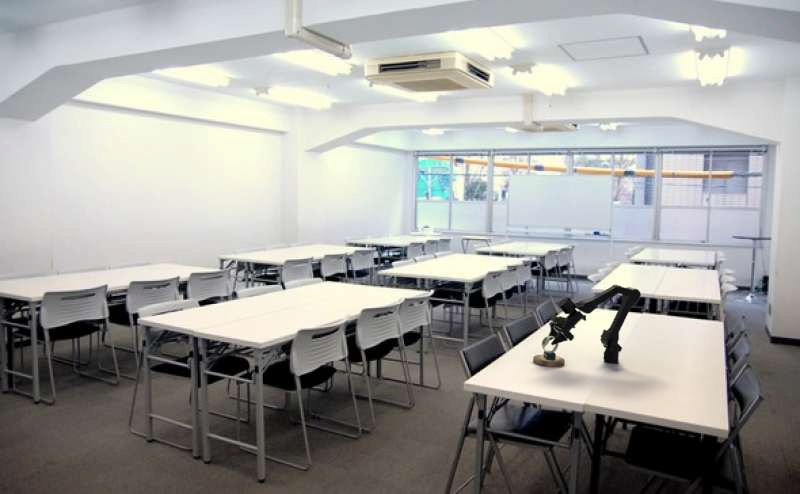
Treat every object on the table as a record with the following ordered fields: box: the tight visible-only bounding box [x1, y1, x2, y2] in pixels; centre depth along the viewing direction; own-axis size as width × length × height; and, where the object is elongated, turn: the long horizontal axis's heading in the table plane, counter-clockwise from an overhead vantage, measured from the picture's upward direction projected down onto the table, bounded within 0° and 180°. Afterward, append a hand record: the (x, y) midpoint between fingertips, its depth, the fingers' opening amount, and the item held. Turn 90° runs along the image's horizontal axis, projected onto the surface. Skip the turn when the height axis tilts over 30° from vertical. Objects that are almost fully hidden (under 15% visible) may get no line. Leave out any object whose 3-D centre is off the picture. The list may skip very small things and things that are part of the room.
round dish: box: [532, 354, 566, 368], centre depth 282 cm, size 15×15×2 cm
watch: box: [541, 335, 559, 360], centre depth 281 cm, size 6×8×11 cm
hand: (549, 342), depth 281 cm, fingers open, 6 cm apart
